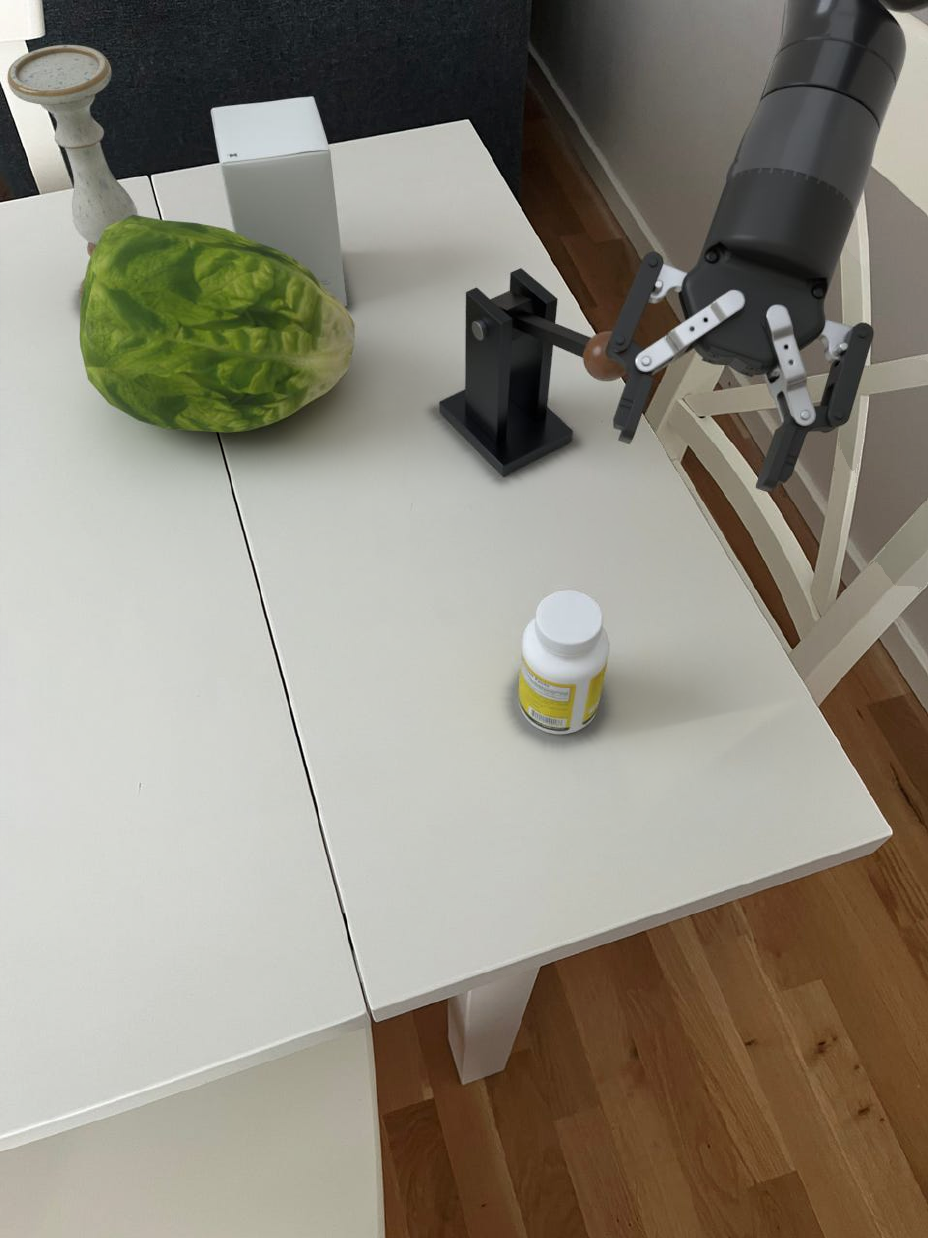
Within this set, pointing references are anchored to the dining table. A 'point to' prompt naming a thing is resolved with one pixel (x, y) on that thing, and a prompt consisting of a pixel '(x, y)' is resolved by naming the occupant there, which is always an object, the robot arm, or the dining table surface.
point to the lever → (560, 336)
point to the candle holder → (76, 129)
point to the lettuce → (207, 327)
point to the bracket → (507, 383)
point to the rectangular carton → (282, 183)
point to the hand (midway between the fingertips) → (695, 464)
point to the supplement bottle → (563, 663)
